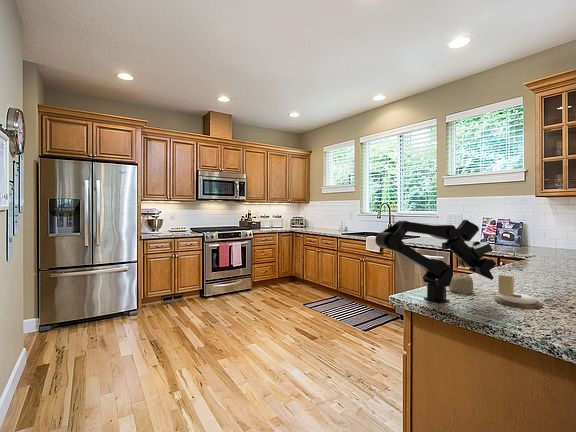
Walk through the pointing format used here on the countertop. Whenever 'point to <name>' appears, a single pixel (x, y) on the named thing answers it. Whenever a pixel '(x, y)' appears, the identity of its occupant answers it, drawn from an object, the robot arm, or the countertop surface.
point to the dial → (512, 291)
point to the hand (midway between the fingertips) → (492, 278)
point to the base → (527, 306)
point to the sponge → (461, 283)
